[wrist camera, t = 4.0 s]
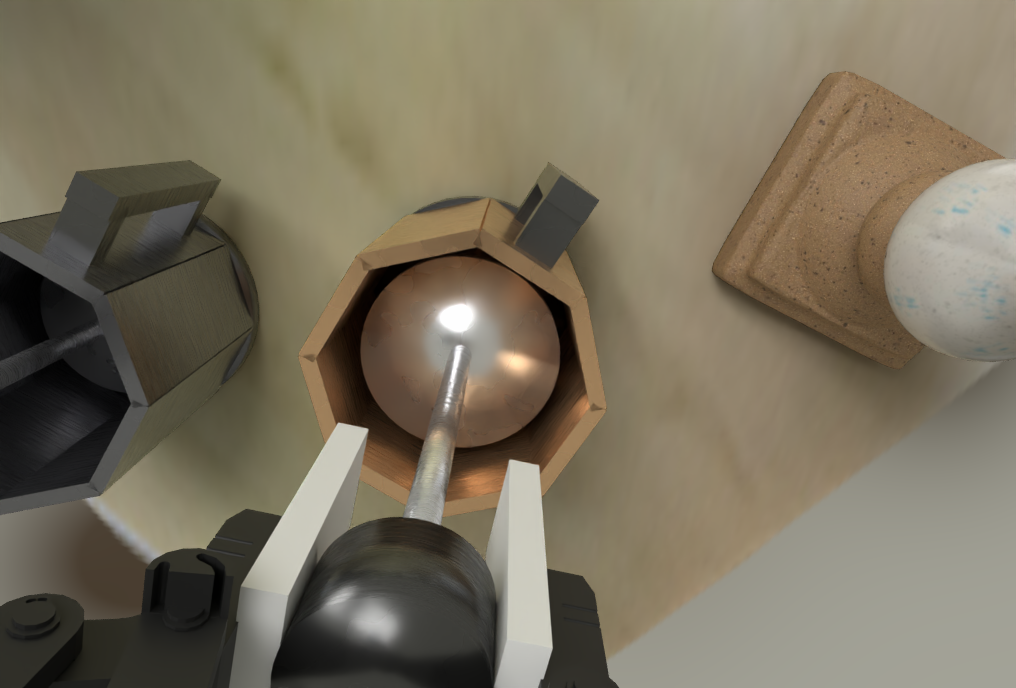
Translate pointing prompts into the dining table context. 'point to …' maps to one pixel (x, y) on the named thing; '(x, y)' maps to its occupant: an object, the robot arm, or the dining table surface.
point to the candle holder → (882, 230)
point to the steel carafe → (118, 326)
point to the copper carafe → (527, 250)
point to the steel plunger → (66, 341)
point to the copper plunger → (426, 483)
